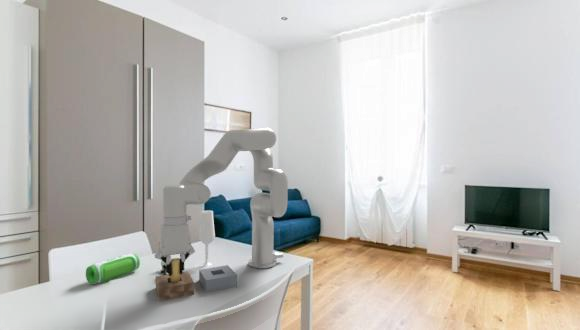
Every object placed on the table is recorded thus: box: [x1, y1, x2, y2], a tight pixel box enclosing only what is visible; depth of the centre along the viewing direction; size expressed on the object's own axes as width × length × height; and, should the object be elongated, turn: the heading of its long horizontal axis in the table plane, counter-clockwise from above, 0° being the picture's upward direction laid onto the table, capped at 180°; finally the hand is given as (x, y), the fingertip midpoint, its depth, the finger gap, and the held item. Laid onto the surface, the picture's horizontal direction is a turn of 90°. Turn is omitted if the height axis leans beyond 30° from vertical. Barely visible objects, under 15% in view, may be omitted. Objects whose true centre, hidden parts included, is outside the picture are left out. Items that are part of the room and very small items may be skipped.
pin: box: [171, 257, 180, 282], centre depth 106 cm, size 3×3×10 cm
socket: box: [198, 264, 238, 293], centre depth 113 cm, size 11×11×5 cm
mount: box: [155, 271, 195, 302], centre depth 106 cm, size 11×11×5 cm
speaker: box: [85, 253, 141, 285], centre depth 120 cm, size 18×7×8 cm, turn 150°
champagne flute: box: [198, 209, 216, 267], centre depth 132 cm, size 7×7×24 cm
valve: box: [160, 255, 172, 275], centre depth 124 cm, size 7×7×12 cm
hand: (175, 273), depth 106 cm, fingers closed on pin, 3 cm apart
